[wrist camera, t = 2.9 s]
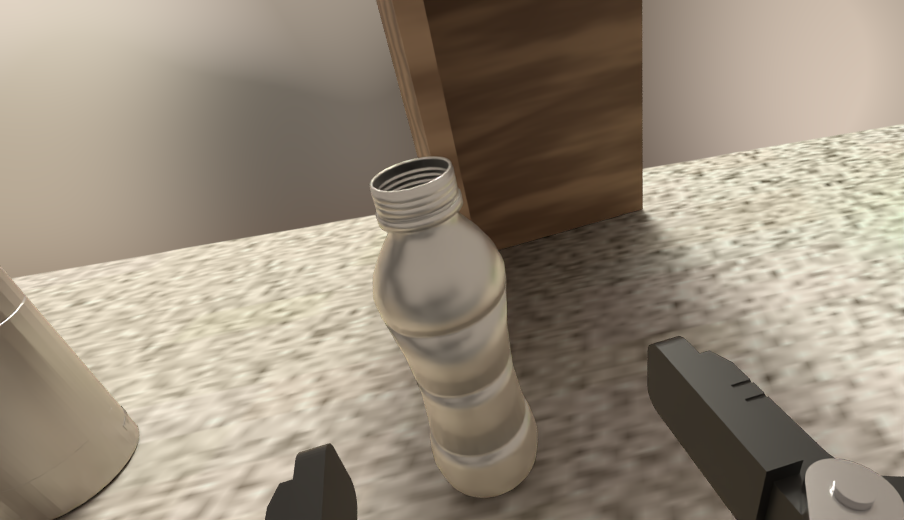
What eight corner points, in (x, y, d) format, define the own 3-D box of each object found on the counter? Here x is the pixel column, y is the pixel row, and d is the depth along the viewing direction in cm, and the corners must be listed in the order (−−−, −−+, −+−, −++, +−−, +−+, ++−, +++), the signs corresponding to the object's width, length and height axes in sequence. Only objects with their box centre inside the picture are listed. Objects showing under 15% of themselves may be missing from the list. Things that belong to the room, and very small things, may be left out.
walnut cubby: (758, 292, 37) (833, -183, 23) (485, 374, 36) (374, -70, 21) (635, 203, 54) (632, -107, 39) (444, 258, 53) (365, -40, 38)
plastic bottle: (558, 437, 30) (515, 142, 20) (513, 534, 26) (427, 217, 16) (474, 407, 34) (400, 143, 24) (421, 488, 29) (302, 205, 19)
